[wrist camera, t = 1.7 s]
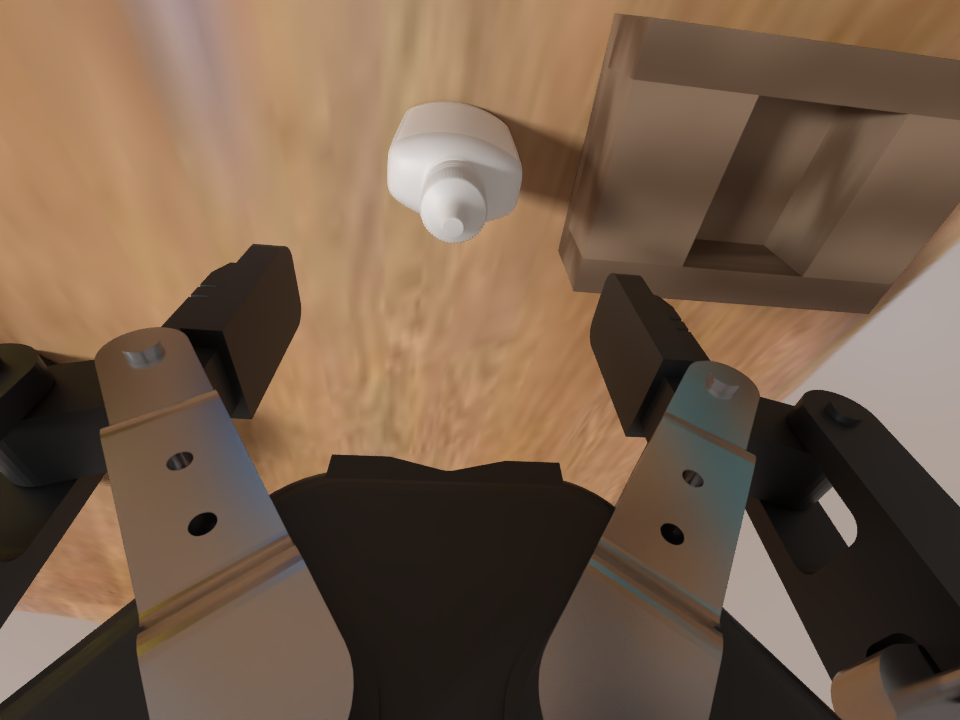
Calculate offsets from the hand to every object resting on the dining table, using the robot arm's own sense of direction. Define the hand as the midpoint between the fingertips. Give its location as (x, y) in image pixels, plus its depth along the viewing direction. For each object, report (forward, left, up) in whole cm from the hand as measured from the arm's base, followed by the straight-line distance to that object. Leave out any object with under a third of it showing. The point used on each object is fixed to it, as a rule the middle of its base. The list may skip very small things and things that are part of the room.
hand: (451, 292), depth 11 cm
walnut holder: (0, +16, -16) cm, 23 cm away
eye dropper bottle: (0, 0, -16) cm, 16 cm away
